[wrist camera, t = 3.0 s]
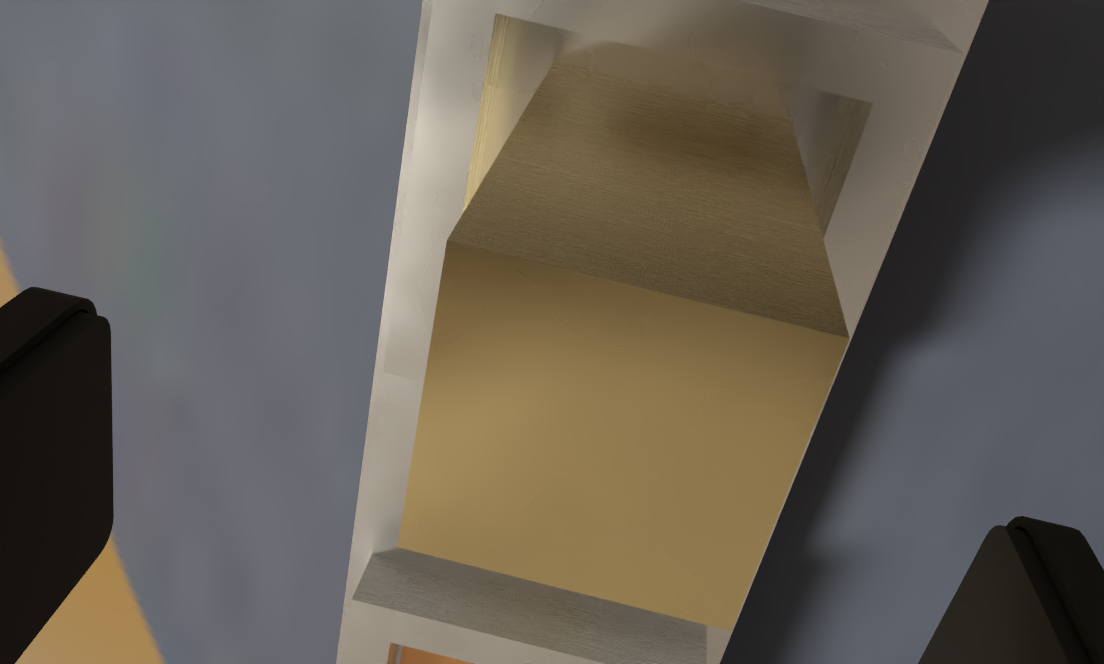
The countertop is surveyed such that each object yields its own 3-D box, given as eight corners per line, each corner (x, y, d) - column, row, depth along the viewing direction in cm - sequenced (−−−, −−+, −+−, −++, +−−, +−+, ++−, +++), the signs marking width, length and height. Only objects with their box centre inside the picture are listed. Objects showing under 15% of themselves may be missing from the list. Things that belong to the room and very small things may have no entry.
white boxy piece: (470, -157, 17) (418, -150, 14) (969, -41, 17) (1025, -8, 14) (342, 730, 29) (300, 839, 26) (639, 807, 29) (631, 925, 26)
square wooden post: (553, 61, 17) (446, 239, 10) (790, 117, 17) (849, 337, 10) (510, 275, 19) (397, 547, 12) (722, 326, 19) (731, 631, 12)
